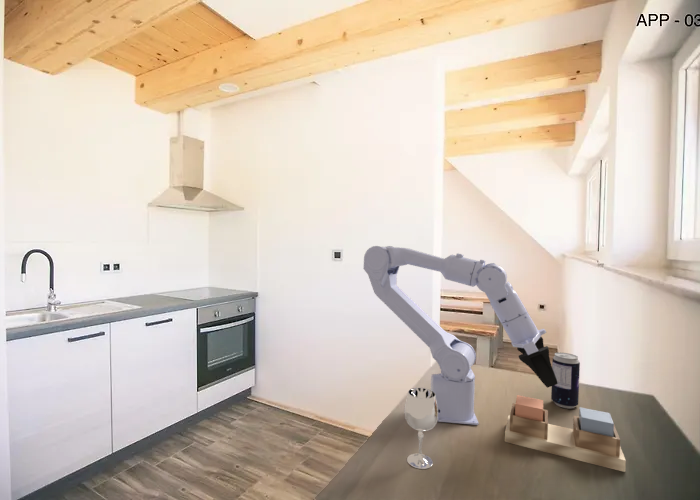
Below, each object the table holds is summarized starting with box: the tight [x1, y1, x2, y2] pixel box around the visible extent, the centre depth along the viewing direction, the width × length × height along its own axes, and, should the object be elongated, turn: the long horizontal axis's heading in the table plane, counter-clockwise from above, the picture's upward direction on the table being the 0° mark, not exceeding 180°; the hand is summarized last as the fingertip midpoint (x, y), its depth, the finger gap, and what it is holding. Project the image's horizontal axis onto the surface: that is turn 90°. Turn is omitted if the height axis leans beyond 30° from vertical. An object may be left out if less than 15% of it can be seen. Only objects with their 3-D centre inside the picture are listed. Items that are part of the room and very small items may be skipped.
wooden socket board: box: [504, 402, 627, 473], centre depth 71 cm, size 19×8×5 cm, turn 62°
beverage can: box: [550, 352, 581, 410], centre depth 89 cm, size 6×6×12 cm
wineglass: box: [404, 387, 438, 470], centre depth 64 cm, size 6×6×12 cm
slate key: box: [578, 406, 615, 437], centre depth 68 cm, size 5×5×3 cm
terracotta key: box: [514, 394, 544, 422], centre depth 73 cm, size 5×5×3 cm
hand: (549, 379), depth 74 cm, fingers open, 7 cm apart
